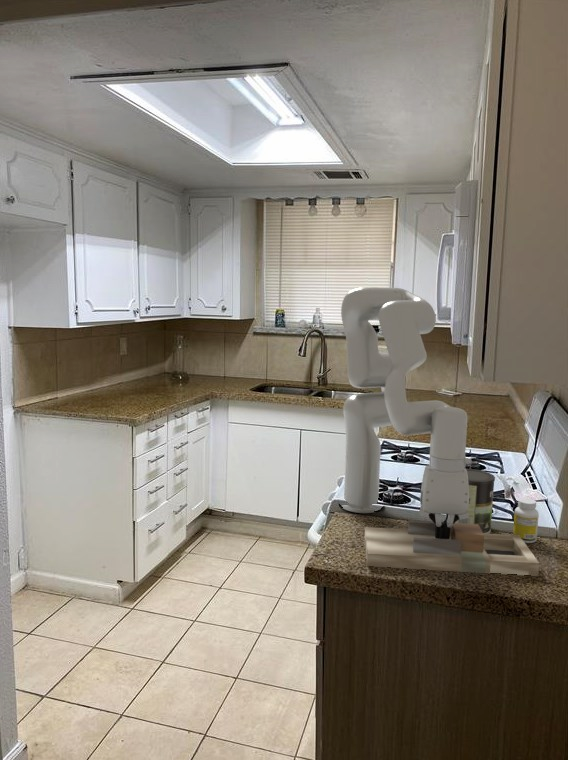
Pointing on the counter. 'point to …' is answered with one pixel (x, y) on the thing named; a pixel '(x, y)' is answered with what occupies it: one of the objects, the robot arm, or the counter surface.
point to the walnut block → (468, 536)
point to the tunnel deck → (446, 551)
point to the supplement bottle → (526, 520)
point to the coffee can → (480, 499)
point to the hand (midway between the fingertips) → (442, 541)
